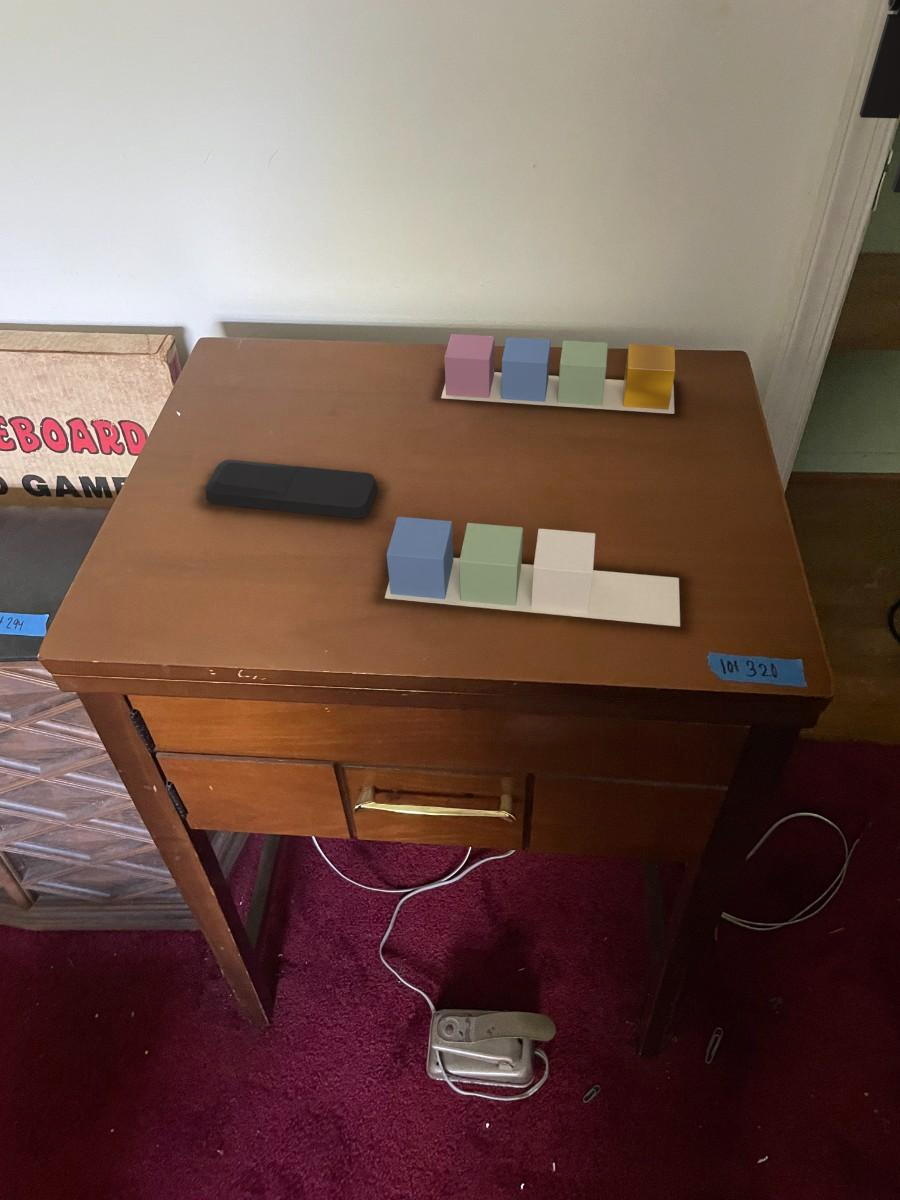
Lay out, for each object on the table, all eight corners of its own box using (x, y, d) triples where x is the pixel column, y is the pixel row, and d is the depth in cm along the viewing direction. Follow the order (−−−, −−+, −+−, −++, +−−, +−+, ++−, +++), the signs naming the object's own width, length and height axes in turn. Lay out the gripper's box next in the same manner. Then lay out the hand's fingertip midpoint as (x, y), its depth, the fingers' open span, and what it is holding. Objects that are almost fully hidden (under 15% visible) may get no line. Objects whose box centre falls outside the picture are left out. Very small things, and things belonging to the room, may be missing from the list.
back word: (673, 384, 91) (680, 344, 88) (674, 413, 87) (681, 373, 84) (449, 370, 94) (448, 331, 90) (441, 398, 90) (439, 358, 87)
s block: (667, 384, 91) (674, 346, 87) (668, 409, 88) (675, 370, 84) (623, 382, 91) (628, 343, 88) (622, 406, 88) (628, 367, 85)
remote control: (380, 489, 81) (222, 469, 83) (379, 473, 80) (218, 453, 82) (367, 524, 78) (202, 503, 80) (366, 509, 77) (199, 487, 78)
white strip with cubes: (678, 578, 72) (687, 537, 69) (679, 626, 68) (689, 585, 65) (397, 553, 75) (393, 512, 71) (384, 598, 71) (380, 557, 68)
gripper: (909, -283, 56) (817, 89, 72) (1019, -253, 39) (868, 226, 55) (1037, -287, 55) (916, 92, 71) (1206, -257, 38) (998, 232, 54)
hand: (895, 151), depth 63 cm, fingers open, 13 cm apart
